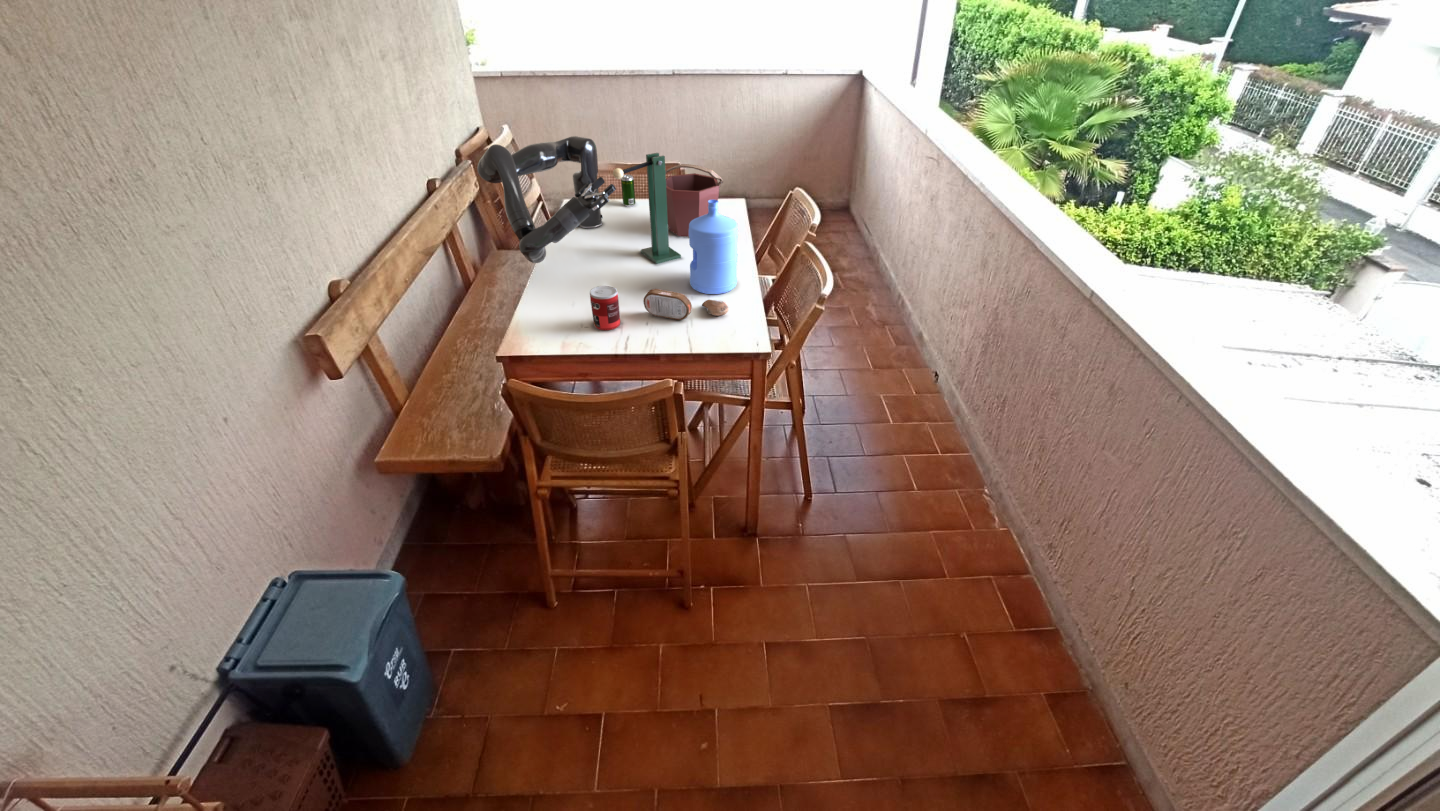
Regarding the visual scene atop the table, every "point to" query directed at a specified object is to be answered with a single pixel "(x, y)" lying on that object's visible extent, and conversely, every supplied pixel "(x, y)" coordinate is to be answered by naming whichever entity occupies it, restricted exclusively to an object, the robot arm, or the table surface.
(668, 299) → the tin
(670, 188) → the bucket
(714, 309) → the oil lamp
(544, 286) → the table surface
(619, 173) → the lever
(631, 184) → the beer can
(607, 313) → the canned food
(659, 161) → the green upright stand
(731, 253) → the water jug
